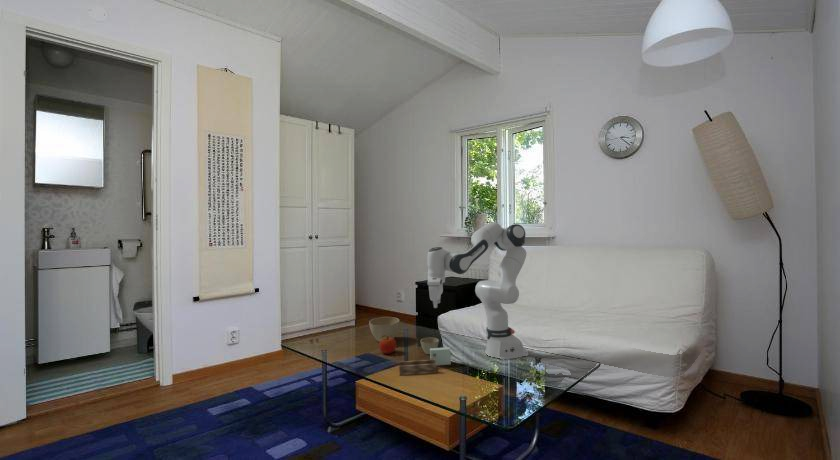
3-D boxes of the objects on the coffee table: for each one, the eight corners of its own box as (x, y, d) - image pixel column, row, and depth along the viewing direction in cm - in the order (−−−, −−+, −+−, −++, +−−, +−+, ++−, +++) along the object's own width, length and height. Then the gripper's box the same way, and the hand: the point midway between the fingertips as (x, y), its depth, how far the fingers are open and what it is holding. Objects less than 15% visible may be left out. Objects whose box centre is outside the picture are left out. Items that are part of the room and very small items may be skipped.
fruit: (399, 353, 243) (398, 335, 242) (382, 356, 240) (381, 338, 239) (393, 348, 252) (392, 331, 251) (377, 351, 249) (376, 333, 248)
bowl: (437, 356, 236) (437, 343, 236) (419, 356, 238) (418, 342, 238) (440, 350, 246) (440, 337, 246) (422, 349, 248) (422, 337, 248)
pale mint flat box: (449, 362, 227) (449, 347, 227) (450, 364, 224) (450, 349, 224) (430, 363, 227) (429, 348, 226) (431, 365, 224) (430, 350, 223)
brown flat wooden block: (435, 366, 222) (434, 358, 222) (436, 372, 214) (436, 364, 214) (399, 368, 221) (399, 360, 221) (399, 375, 213) (399, 367, 213)
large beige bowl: (366, 339, 271) (365, 319, 270) (393, 334, 279) (392, 315, 278) (376, 347, 255) (374, 327, 254) (404, 342, 262) (403, 322, 261)
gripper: (433, 275, 239) (434, 300, 240) (426, 282, 219) (427, 310, 220) (445, 275, 238) (445, 300, 239) (439, 282, 218) (440, 310, 219)
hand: (437, 305), depth 229 cm, fingers open, 8 cm apart
